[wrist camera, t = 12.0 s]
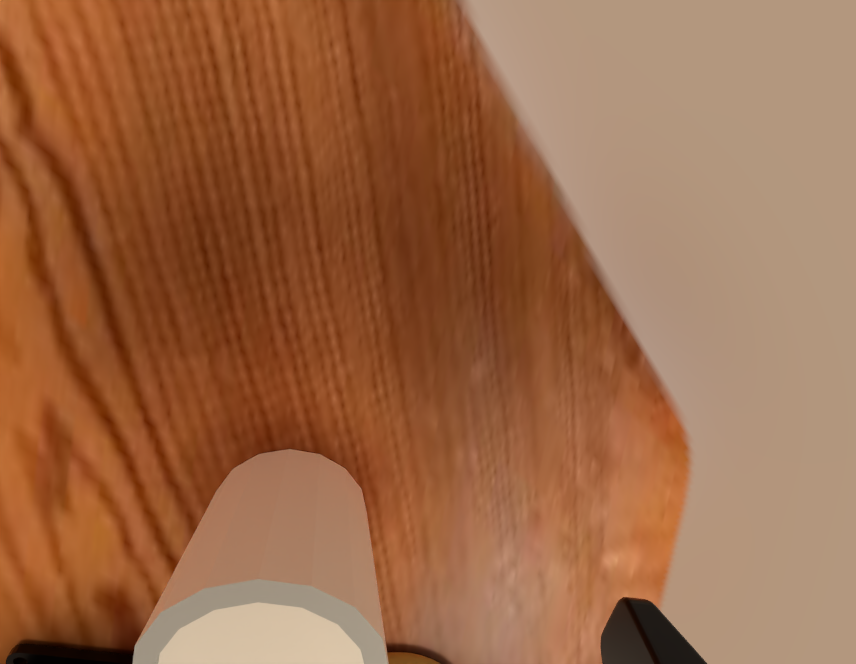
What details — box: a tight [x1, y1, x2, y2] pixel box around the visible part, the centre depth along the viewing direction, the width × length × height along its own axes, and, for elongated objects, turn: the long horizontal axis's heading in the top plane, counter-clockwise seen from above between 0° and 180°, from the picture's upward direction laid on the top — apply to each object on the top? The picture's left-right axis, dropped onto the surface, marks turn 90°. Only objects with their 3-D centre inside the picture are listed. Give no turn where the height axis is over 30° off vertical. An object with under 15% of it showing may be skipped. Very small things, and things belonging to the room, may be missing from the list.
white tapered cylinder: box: [132, 449, 389, 664], centre depth 20 cm, size 7×7×7 cm
